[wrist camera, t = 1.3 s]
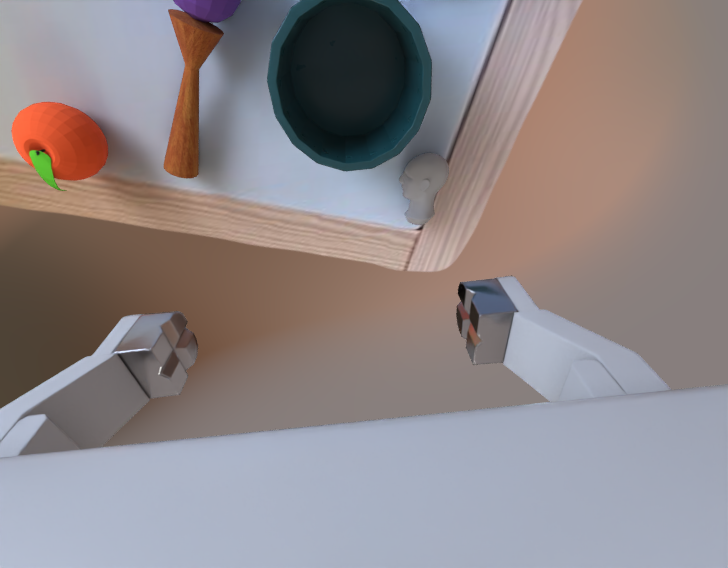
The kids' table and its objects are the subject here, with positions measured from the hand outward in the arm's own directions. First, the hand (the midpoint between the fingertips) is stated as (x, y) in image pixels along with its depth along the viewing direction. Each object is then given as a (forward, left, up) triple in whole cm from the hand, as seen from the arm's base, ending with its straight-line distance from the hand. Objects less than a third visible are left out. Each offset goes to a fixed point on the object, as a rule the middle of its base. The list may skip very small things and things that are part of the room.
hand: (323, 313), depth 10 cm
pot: (-3, +2, -32) cm, 32 cm away
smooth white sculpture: (+9, +9, -32) cm, 34 cm away
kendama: (-5, -12, -32) cm, 35 cm away
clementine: (0, -26, -32) cm, 41 cm away
